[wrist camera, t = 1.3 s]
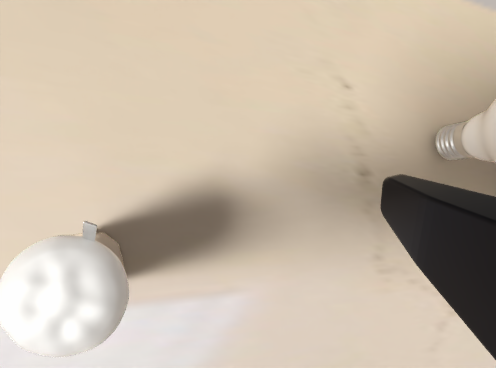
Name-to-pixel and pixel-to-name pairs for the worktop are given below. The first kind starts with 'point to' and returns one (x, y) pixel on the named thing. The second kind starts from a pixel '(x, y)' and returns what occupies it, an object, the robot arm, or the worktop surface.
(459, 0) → the worktop surface
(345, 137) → the worktop surface
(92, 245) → the milkshake
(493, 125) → the lightbulb
